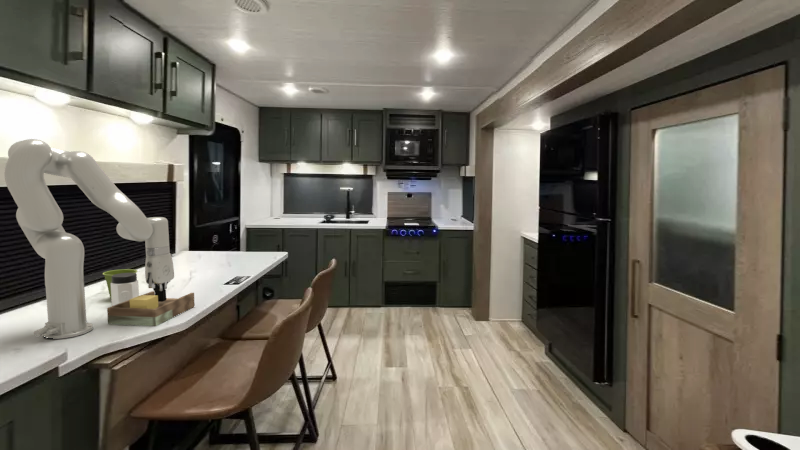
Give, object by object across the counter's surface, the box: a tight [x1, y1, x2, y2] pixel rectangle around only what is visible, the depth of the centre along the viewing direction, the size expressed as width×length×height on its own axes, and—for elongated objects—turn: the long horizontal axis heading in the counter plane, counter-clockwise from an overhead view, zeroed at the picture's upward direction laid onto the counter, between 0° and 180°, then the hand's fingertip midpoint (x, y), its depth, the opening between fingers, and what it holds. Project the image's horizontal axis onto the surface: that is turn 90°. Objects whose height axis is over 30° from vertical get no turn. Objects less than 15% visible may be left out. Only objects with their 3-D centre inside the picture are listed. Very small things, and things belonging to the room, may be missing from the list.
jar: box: [110, 272, 140, 306], centre depth 165 cm, size 9×8×12 cm
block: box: [129, 294, 158, 309], centre depth 148 cm, size 6×6×5 cm
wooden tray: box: [106, 290, 195, 327], centre depth 154 cm, size 22×17×6 cm
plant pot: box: [102, 268, 138, 300], centre depth 174 cm, size 12×12×11 cm
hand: (160, 300), depth 157 cm, fingers closed
